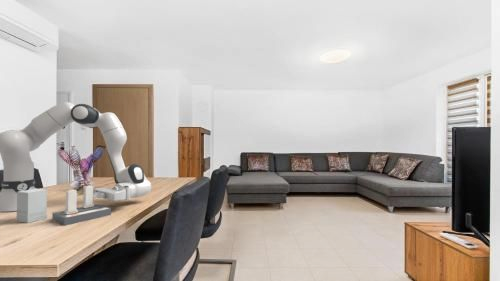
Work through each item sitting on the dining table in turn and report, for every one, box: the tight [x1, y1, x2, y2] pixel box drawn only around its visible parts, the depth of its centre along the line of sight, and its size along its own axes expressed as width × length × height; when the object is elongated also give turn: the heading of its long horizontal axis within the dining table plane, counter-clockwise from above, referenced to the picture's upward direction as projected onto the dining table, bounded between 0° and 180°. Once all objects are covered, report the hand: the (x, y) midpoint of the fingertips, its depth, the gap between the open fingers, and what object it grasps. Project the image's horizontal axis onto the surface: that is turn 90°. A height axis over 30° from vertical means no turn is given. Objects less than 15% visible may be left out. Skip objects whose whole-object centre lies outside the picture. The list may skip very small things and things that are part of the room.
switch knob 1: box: [63, 189, 78, 214], centre depth 102 cm, size 2×4×10 cm, turn 146°
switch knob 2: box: [81, 185, 95, 208], centre depth 112 cm, size 2×4×10 cm, turn 146°
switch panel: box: [51, 203, 112, 226], centre depth 107 cm, size 13×18×3 cm
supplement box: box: [16, 188, 48, 224], centre depth 103 cm, size 7×7×13 cm
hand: (91, 196), depth 113 cm, fingers closed, pressing on switch knob 2
